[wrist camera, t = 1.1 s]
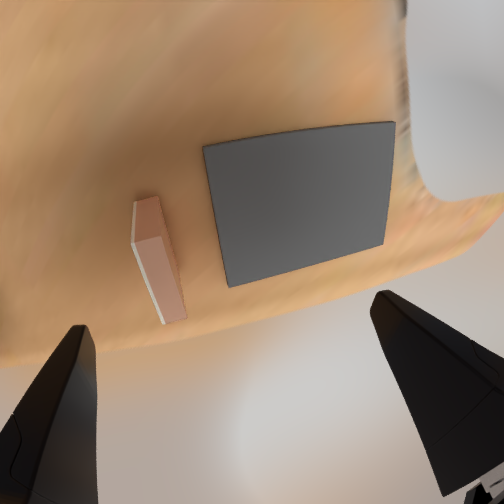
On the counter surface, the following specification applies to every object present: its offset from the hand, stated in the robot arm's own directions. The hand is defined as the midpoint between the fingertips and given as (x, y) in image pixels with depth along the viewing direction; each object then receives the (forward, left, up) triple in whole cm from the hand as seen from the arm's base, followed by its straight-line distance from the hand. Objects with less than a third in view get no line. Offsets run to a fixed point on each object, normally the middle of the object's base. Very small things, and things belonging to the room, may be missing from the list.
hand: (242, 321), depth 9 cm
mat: (+8, -4, -13) cm, 16 cm away
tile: (-3, -4, -13) cm, 14 cm away
